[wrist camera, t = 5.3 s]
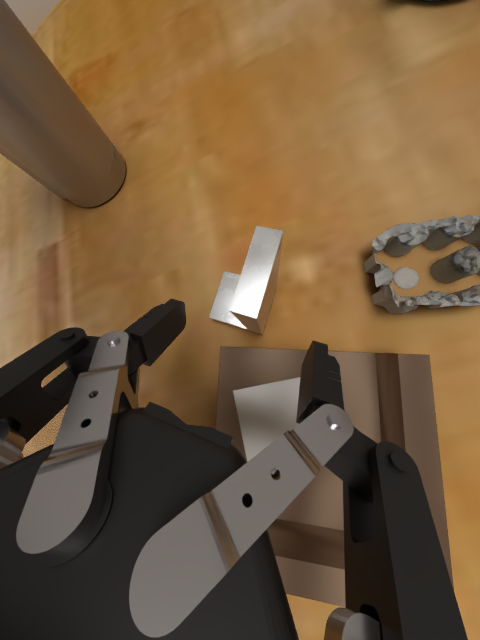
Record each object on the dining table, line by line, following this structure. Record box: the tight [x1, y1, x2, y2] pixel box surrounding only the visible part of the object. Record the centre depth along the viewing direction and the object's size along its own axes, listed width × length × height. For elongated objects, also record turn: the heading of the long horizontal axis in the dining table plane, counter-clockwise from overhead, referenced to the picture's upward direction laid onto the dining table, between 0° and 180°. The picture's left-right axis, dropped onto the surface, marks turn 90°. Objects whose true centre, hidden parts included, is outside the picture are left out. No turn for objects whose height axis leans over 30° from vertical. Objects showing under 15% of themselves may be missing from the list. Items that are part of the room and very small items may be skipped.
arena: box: [216, 347, 454, 607], centre depth 16 cm, size 16×16×4 cm
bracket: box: [209, 226, 283, 335], centre depth 16 cm, size 6×5×10 cm
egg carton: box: [364, 215, 480, 314], centre depth 17 cm, size 11×8×4 cm
